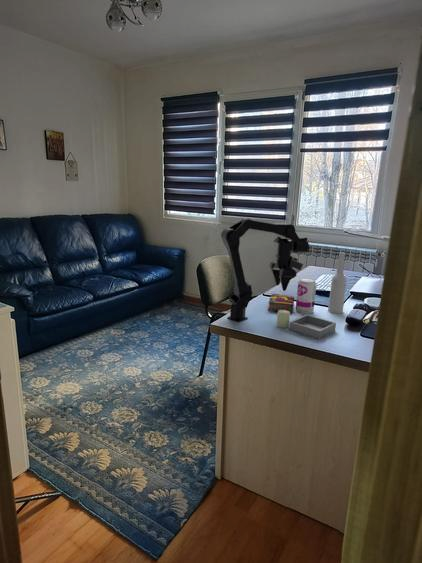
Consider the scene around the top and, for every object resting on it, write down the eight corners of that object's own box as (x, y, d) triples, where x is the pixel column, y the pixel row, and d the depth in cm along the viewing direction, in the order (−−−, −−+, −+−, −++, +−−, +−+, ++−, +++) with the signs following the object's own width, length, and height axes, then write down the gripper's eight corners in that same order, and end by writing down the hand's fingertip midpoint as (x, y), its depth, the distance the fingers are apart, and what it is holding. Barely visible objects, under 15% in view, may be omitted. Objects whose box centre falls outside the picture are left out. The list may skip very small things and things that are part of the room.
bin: (319, 339, 136) (320, 331, 135) (289, 329, 145) (289, 321, 144) (335, 331, 145) (336, 322, 144) (306, 322, 154) (306, 314, 153)
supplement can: (303, 314, 163) (306, 283, 159) (291, 309, 170) (294, 278, 166) (317, 312, 167) (320, 281, 163) (305, 307, 174) (307, 277, 170)
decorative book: (293, 304, 179) (294, 294, 178) (292, 314, 164) (293, 304, 163) (270, 302, 182) (271, 292, 180) (267, 311, 167) (268, 301, 165)
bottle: (345, 312, 168) (353, 253, 161) (336, 314, 165) (343, 254, 158) (334, 308, 174) (341, 251, 167) (325, 310, 170) (331, 252, 163)
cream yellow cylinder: (284, 328, 146) (285, 314, 144) (274, 325, 149) (275, 311, 148) (291, 325, 149) (292, 312, 148) (281, 322, 152) (282, 309, 151)
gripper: (310, 257, 146) (306, 293, 150) (294, 249, 164) (291, 282, 168) (284, 256, 145) (280, 293, 149) (270, 249, 163) (268, 282, 167)
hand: (280, 287), depth 158 cm, fingers open, 9 cm apart
